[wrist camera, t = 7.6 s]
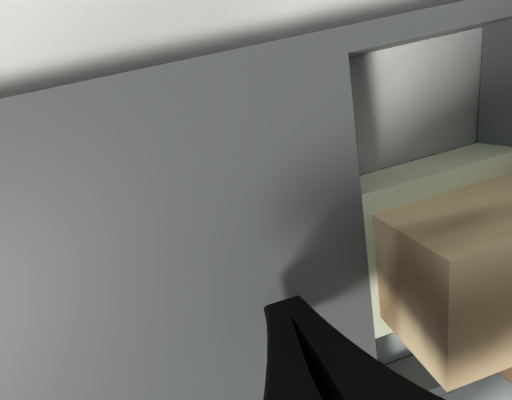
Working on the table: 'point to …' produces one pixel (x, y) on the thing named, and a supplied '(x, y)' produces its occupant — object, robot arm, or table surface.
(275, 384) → the robot arm
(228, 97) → the trap board
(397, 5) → the table surface
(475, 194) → the maple block
